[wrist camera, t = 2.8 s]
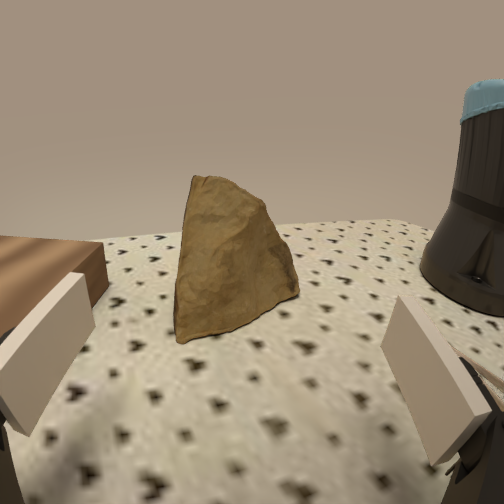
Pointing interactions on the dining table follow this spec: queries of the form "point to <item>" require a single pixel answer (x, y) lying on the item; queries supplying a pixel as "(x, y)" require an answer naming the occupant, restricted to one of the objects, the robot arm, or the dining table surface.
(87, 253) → the plinth
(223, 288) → the rock
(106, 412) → the dining table surface
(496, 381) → the tweezers
